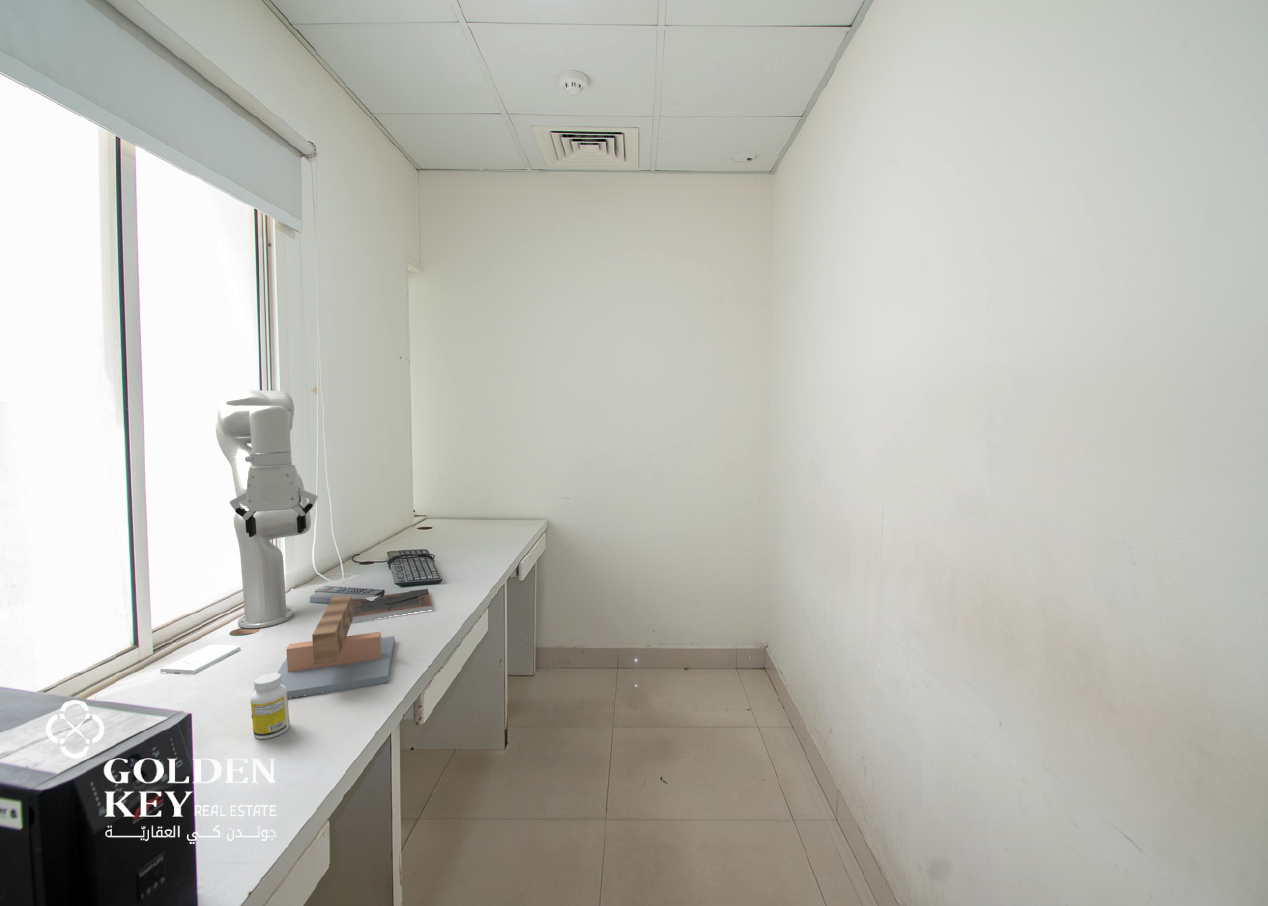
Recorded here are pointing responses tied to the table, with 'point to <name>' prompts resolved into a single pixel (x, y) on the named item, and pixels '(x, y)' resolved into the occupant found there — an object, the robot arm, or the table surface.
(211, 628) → the table surface
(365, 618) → the picture frame
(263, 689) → the supplement bottle
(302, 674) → the ridge board
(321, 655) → the walnut beam
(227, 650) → the external hard drive
